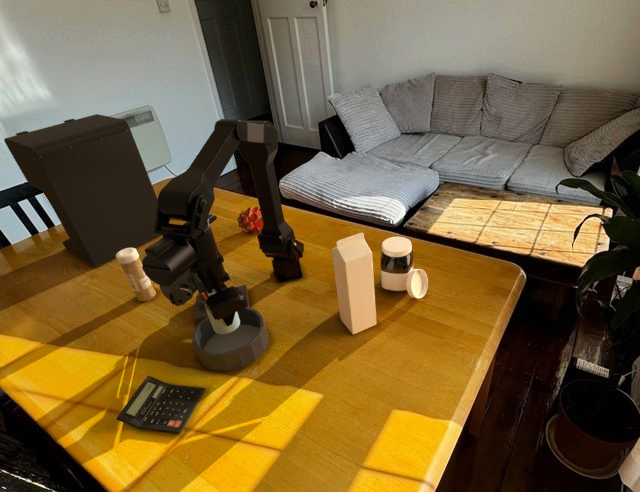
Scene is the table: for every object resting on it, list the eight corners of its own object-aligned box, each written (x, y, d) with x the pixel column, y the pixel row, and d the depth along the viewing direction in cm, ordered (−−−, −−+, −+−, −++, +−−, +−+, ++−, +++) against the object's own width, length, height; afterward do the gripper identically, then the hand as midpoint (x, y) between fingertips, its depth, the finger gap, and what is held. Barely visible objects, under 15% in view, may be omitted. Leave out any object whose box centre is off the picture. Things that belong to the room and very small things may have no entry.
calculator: (180, 434, 71) (174, 424, 69) (121, 427, 73) (114, 417, 72) (205, 390, 79) (201, 380, 77) (151, 385, 81) (146, 374, 79)
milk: (376, 324, 90) (372, 238, 77) (352, 335, 88) (343, 248, 75) (362, 309, 95) (356, 225, 82) (339, 319, 92) (329, 234, 80)
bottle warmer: (265, 316, 95) (260, 300, 92) (271, 361, 84) (266, 344, 81) (200, 332, 92) (193, 315, 89) (198, 380, 81) (190, 363, 78)
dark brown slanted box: (148, 212, 145) (106, 108, 125) (181, 225, 135) (140, 115, 115) (65, 249, 127) (0, 136, 107) (96, 268, 117) (30, 146, 97)
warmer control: (248, 291, 103) (244, 278, 101) (250, 313, 96) (246, 300, 94) (198, 302, 101) (193, 289, 99) (197, 326, 94) (191, 313, 92)
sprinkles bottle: (158, 297, 104) (137, 252, 96) (138, 304, 102) (116, 259, 94) (154, 288, 107) (134, 244, 99) (135, 295, 105) (113, 251, 97)
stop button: (218, 289, 99) (216, 283, 98) (218, 298, 96) (216, 291, 95) (203, 292, 98) (201, 286, 97) (203, 302, 95) (200, 295, 94)
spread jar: (385, 271, 106) (383, 232, 99) (429, 274, 104) (431, 234, 97) (377, 301, 97) (375, 260, 90) (426, 305, 94) (427, 263, 88)
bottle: (239, 313, 87) (229, 280, 82) (240, 330, 83) (229, 296, 78) (213, 319, 86) (201, 286, 81) (213, 337, 82) (200, 303, 77)
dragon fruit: (238, 241, 127) (271, 231, 134) (249, 234, 120) (283, 223, 127) (227, 216, 126) (261, 207, 134) (237, 207, 120) (272, 198, 127)
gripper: (142, 248, 77) (171, 311, 86) (170, 296, 64) (200, 364, 73) (201, 227, 82) (222, 289, 91) (237, 268, 69) (257, 335, 78)
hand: (224, 317), depth 83 cm, fingers closed on bottle, 5 cm apart
